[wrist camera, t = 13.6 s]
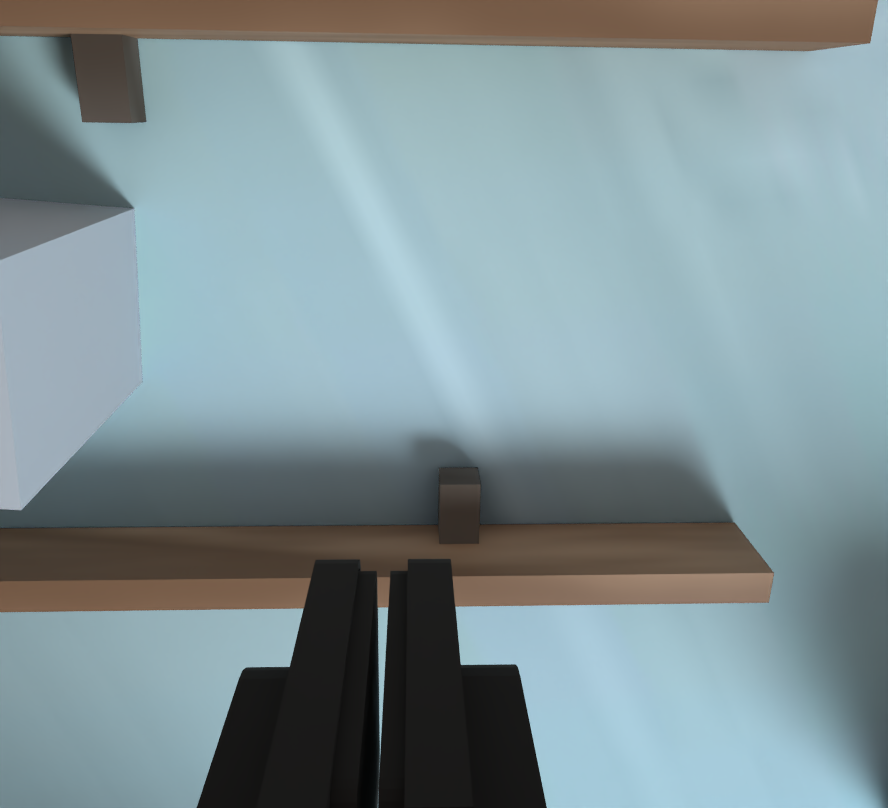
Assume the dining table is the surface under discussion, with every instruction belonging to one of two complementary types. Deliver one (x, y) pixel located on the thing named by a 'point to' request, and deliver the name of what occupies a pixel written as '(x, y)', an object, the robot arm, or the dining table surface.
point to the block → (62, 334)
